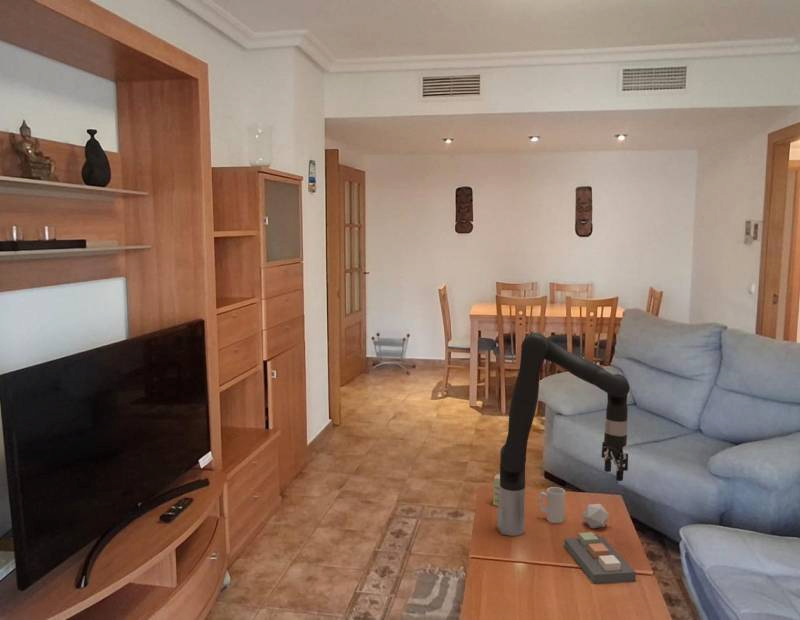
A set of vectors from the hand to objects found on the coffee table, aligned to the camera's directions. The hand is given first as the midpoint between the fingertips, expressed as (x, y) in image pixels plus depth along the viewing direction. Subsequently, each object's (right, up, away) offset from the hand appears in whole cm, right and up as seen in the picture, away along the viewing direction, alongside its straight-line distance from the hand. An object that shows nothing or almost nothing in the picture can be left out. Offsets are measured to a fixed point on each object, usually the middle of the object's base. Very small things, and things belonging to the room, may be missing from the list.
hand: (613, 475), depth 216 cm
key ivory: (-8, -26, -19) cm, 33 cm away
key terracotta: (-9, -25, -11) cm, 29 cm away
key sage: (-10, -24, -3) cm, 26 cm away
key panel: (-9, -26, -11) cm, 30 cm away
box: (-32, -22, +34) cm, 51 cm away
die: (-1, -24, +16) cm, 28 cm away
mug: (-17, -23, +21) cm, 36 cm away
